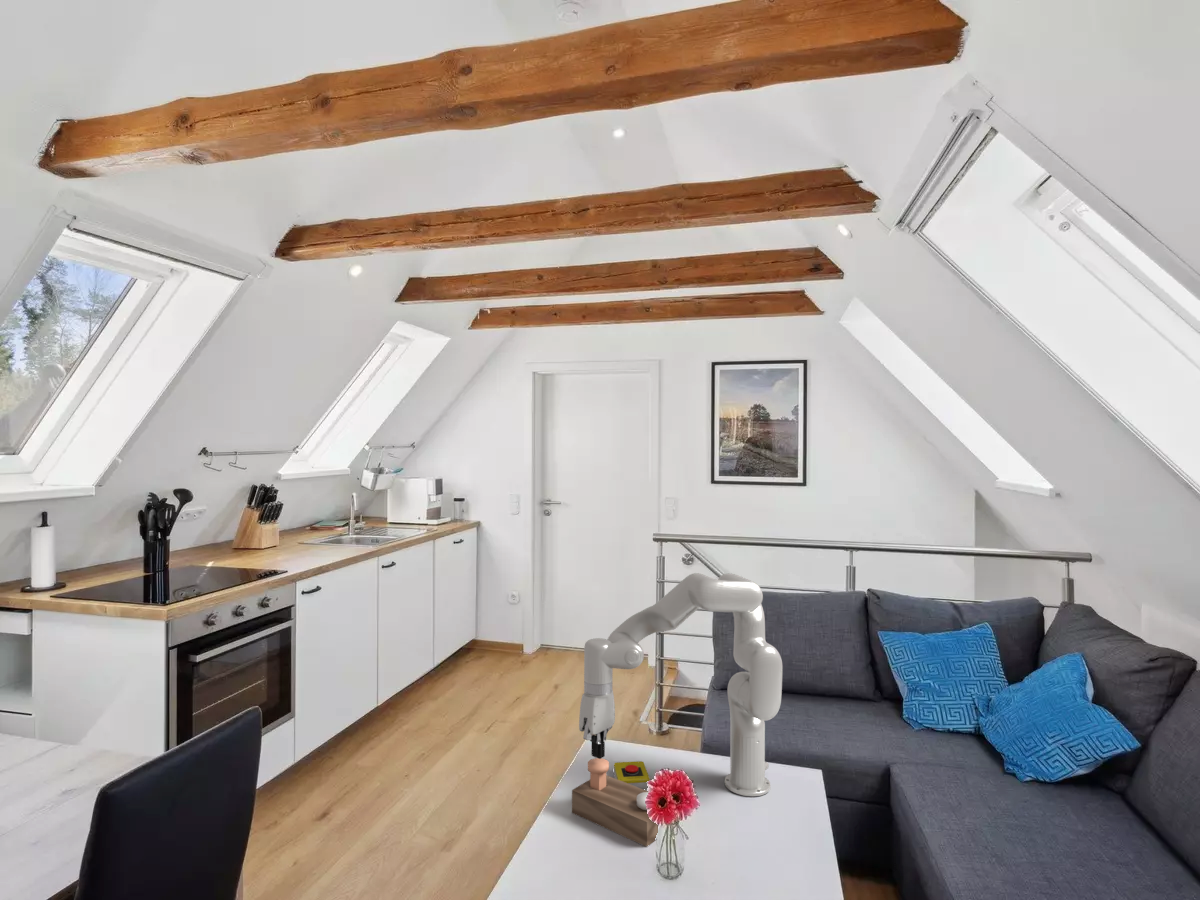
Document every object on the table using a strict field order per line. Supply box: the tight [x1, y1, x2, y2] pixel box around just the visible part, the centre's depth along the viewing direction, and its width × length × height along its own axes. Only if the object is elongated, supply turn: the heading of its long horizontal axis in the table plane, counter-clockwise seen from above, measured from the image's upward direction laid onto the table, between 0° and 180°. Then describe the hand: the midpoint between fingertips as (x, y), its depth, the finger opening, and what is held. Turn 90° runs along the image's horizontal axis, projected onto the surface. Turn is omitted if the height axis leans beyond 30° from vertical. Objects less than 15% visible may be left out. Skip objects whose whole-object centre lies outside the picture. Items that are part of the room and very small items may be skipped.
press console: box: [571, 774, 658, 847], centre depth 174 cm, size 12×24×6 cm, turn 51°
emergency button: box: [613, 760, 651, 791], centre depth 195 cm, size 9×4×15 cm
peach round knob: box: [587, 757, 610, 791], centre depth 179 cm, size 6×6×8 cm
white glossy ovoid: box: [637, 792, 649, 810], centre depth 169 cm, size 6×6×8 cm
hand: (598, 756), depth 179 cm, fingers closed
